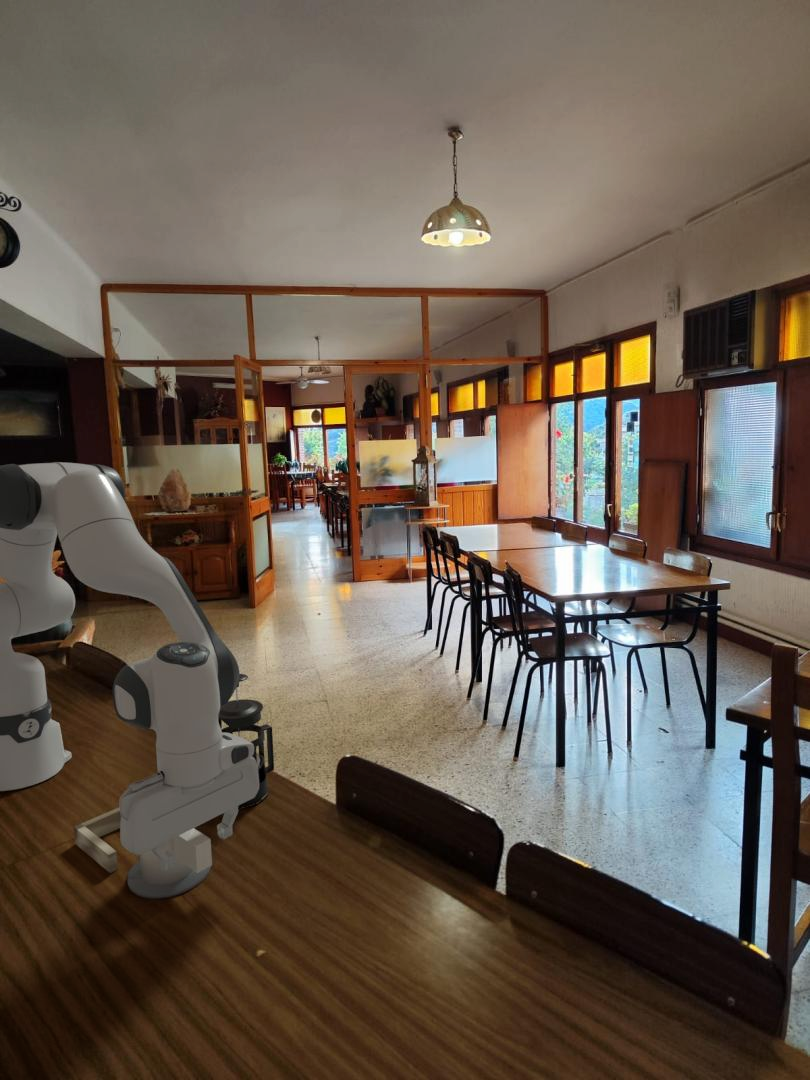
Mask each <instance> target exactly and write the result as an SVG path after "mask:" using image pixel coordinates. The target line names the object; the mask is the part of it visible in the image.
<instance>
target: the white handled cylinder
mask: <svg viewBox="0 0 810 1080" xmlns="http://www.w3.org/2000/svg"><path fill="white" fill-rule="evenodd" d="M211 842H212V840H211V838H210V837H209V836H207V835H205V834H204V833H202V832H201V831H199V830H197V829H196V827H195V828H193V829H191V830H189V831H187V832H185V833H183V834H181V835H179V836H177V837H175V838H173V839H171V840H169V841H167V842H166V848H165V849H163V850H162V851H163V852H165V851H168V852H170V854H173V855H174V863H175V865H174V866H173V867H172V868H170V869H168V870H166V871H163V870H161V869H160V868H159V866H158V856H156V855H155V854H154V852H153V851H152V850H149V851H147V852H145V853H143V854H141V855H139V860H140V866H141V876H142V878H143V880H144V881H146V882H148V883H151V884H168V883H172V882H176V881H178V880H180V879H182V878H184V877H186V876H187V875H189V874H190V873H191V872H192V871H195V872H196V873H199V872H200V871H202V870H204V869H206V868H208V867H209V866H211V865H212V866H213V857H212V856H213V855H212V843H211ZM212 866H211V867H212Z"/></svg>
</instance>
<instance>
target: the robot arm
mask: <svg viewBox="0 0 810 1080" xmlns="http://www.w3.org/2000/svg"><path fill="white" fill-rule="evenodd" d="M125 488H126V487H125V484H124V482H123V479H122V477H121V476H120V474H119V473H118V471H116V470H115V469H114V468H112V467H110V466H106V465H103V464H96V463H90V464H87V463H86V464H85V463H77V462H75V463H74V462H61V461H60V462H59V461H54V462H43V463H40V462H39V463H26V464H15V463H9V464H4V465H3V464H2V465H0V579H2V580H3V581H1V582H0V792H5V791H14V790H19V789H24V788H27V787H31V786H35V785H38V784H39V783H42V782H44V781H46V780H48V779H50V778H52V777H53V776H55V775H57V774H58V773H59V772H60V771H61V770H62V768H63V767H64V765H65V763H67V762H68V761H70V760H71V759H72V758H73V755H72V752H71V751H70V750H66V749H65V748H64V747H65V746H64V742H63V736H62V730H61V725H60V723H59V722H57V721H56V720H54V719H52V716H53V715H52V704H51V700H50V699H49V698H48V693H47V691H48V690H47V683H46V672H45V667H44V665H43V663H42V662H41V661H40V660H39V659H38V658H37V657H35V656H33V655H30V654H27V653H22V652H15V651H14V649H13V647H12V639H14V638H18V637H22V636H27V635H30V634H35V633H38V632H45V631H47V630H49V629H51V628H54V627H57V626H60V625H61V624H63V623H65V622H67V621H69V620H70V619H71V617H72V616H73V613H74V610H75V607H76V597H75V596H76V595H75V593H74V590H73V589H72V587H71V586H70V584H69V583H68V582H67V581H66V580H64V579H63V578H62V577H59V576H58V575H56V574H55V572H54V571H53V565H52V564H53V563H52V562H53V558H54V557H53V556H54V550H55V545H56V542H57V537H58V539H59V542H60V547H61V548H62V552H63V555H64V559H65V561H66V563H67V565H68V567H69V569H70V571H71V573H72V574H73V575H74V577H75V578H76V579H77V580H78V581H79V582H81V583H83V584H84V585H86V586H88V587H89V588H92V589H94V590H96V591H100V592H104V593H109V594H117V595H124V596H129V597H133V598H139V599H142V600H145V601H148V602H149V603H152V604H153V605H155V606H156V607H158V608H159V609H160V610H161V611H162V613H163V614H164V616H165V618H166V619H167V622H168V623H169V624H170V627H171V628H172V630H173V631H174V633H175V634H176V637H177V638H178V640H179V641H178V642H171V643H167V644H165V645H163V646H161V647H160V648H158V649H157V650H156V651H155V652H154V654H153V655H152V656H149V657H147V658H143V659H140V660H139V659H138V660H136V661H133V662H131V663H129V664H127V665H124V666H123V667H122V668H121V669H120V671H119V672H118V673H117V675H116V677H115V679H114V682H113V685H112V701H113V708H114V712H115V715H116V716H117V718H118V719H119V720H121V721H122V722H124V723H126V724H127V725H130V726H132V727H134V728H137V729H140V730H146V731H148V730H153V731H154V732H155V734H156V740H155V741H156V742H155V751H156V765H157V772H155V773H154V774H152V775H149V776H147V777H146V778H143V779H141V780H137V781H134V782H132V783H130V784H129V785H128V787H127V788H126V790H124V792H123V793H122V794H121V795H120V797H119V799H118V805H119V807H120V814H121V824H120V828H119V832H120V834H119V835H120V844H121V846H122V847H123V848H124V849H125V850H127V852H129V853H131V854H132V855H135V856H140V855H141V854H143V853H145V852H147V851H149V850H152V851H153V852H154V854H155V855H156V856H158V866H159V868H160V869H161V870H163V871H166V870H168V869H170V868H172V867H173V866H174V865H175V863H174V855H173V854H170V852H168V851H165V852H163V851H162V850H163V849H165V848H166V842H167V841H169V840H171V839H173V838H175V837H177V836H179V835H181V834H183V833H185V832H187V831H189V830H191V829H193V828H195V829H196V828H197V827H198V826H200V825H203V824H205V823H207V822H208V821H211V820H212V819H214V818H216V817H219V816H220V815H223V817H222V820H221V822H220V823H219V824H217V825H216V830H217V832H216V833H217V836H218V837H219V838H220V839H221V840H226V839H228V837H229V838H230V837H231V836H232V835H233V833H234V832H233V825H234V822H235V820H236V818H237V816H238V813H239V809H238V806H239V805H241V804H243V803H245V802H247V801H249V800H251V799H253V798H254V797H255V796H256V794H257V792H258V790H259V774H258V767H257V763H256V760H255V759H254V758H253V757H252V756H253V754H254V745H253V744H252V743H251V741H249V740H247V739H246V738H243V737H241V736H240V737H239V736H238V734H231V733H225V732H224V733H222V730H221V729H222V728H221V726H220V723H219V719H218V716H219V711H220V706H221V705H224V704H226V703H227V702H228V701H230V699H231V698H232V696H233V694H234V693H235V692H236V687H237V684H238V681H239V674H240V668H239V664H238V661H237V659H236V658H235V656H234V654H233V652H232V651H231V650H230V649H229V648H228V647H227V645H226V644H225V643H224V642H223V640H221V638H220V637H219V635H218V634H217V633H216V631H215V629H214V628H213V626H212V624H211V623H210V620H209V619H208V618H207V616H206V614H205V613H204V610H203V609H202V607H201V606H200V604H199V603H198V601H197V599H196V598H195V596H194V594H193V592H192V591H191V589H190V587H189V586H188V584H187V582H186V581H185V579H184V577H183V576H182V574H181V573H180V571H179V570H178V568H177V567H176V565H175V564H174V563H173V562H172V561H171V560H170V559H169V558H168V557H165V556H163V555H161V554H160V553H158V552H157V551H156V550H154V548H152V547H151V545H149V544H148V543H147V541H146V540H145V539H144V538H143V536H142V535H141V533H140V532H139V530H138V528H137V525H136V524H135V521H134V519H133V516H132V514H131V512H130V509H129V507H128V505H127V503H126V489H125ZM119 807H118V808H119Z"/></svg>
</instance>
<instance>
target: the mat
mask: <svg viewBox="0 0 810 1080" xmlns="http://www.w3.org/2000/svg"><path fill="white" fill-rule="evenodd" d="M212 866H213V864H212V865H211V866H209V867H208V868H206V869H204V870H202V871H200V872H199V873H196V872H195V871H192V872H191V873H190V874H189V875H187V876H186V877H184V878H182V879H180V880H178V881H176V882H172V883H168V884H151V883H148V882H146V881H144V880H143V878H142V876H141V866H140V859H139V860H138V861H136V862H135V863H134V864H133V865H132V867H131V868H130V870H129V871H128V875H127V886H128V889H129V890H130V892H132V893H133V894H134V895H136V896H137V897H141V898H145V899H152V900H153V899H154V900H155V899H166V898H167V899H168V898H171V897H175V896H178V895H181V894H184V893H186V892H188V891H190V890H193V889H194V888H195V887H197V886H198V885H199V884H201V883H202V882H203V881H204V880H206V878H207V877H208V876H209V874H210V872H211V869H212Z"/></svg>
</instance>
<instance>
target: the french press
mask: <svg viewBox="0 0 810 1080" xmlns="http://www.w3.org/2000/svg"><path fill="white" fill-rule="evenodd" d="M248 678H249V676H248V675H247V674H245V673H239V681H238V684H237V687H236V689H235V698H236V699H235V700H229V701H228V702H227V703H226V704H224V705H221V706H220V711H219V716H218V720H221V721H222V722H223V723H224V724H225V725H226V726H227V727H224V728H221V730H222V733H224V732H225V733H231V734H233V733H236V732H238V734H237V736H239V737H241V732H255V733H257V738H256V739H253V740H252V741H250V742H251V743H252V744H253V745H254V754H253V756H252V757H253V758H254V759H255V760H256V763H257V767H258V774H259V790H258V792H257V794H256V796H255V797H254V798H253V799H251V800H249V801H247V802H245V803H243V804H241V805H239V806H238V808H242V807H247V806H250V805H253V804H256V803H257V802H259V801H261V800H262V799H264V798H265V797H266V795H267V794H268V795H269V793H268V791H269V787H268V777H267V776H268V775H267V774H268V773H271V772H273V771H274V770H275V761H274V760H275V758H274V757H275V756H274V741H273V740H274V738H273V726H271V725H269V724H262V725H258V723H259V722H260V721H261V719H262V713H261V712H262V711H263V708H264V707H263V706H264V705H263V703H262V702H261V701H258V700H255V699H249V698H243V699H239V690H238V688H239V687H240V682H244V681H246V680H247V679H248ZM265 731H266V732H265ZM265 733H266V736H265ZM265 737H266V748H267V751H266V752H267V766H266V764H265V763H266V761H265V760H266V759H265V743H264V742H265ZM257 747H258V752H257ZM269 792H270V791H269ZM266 798H267V797H266ZM266 798H265V799H266ZM265 799H264V800H265ZM247 808H248V807H247ZM242 809H243V808H242Z"/></svg>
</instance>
